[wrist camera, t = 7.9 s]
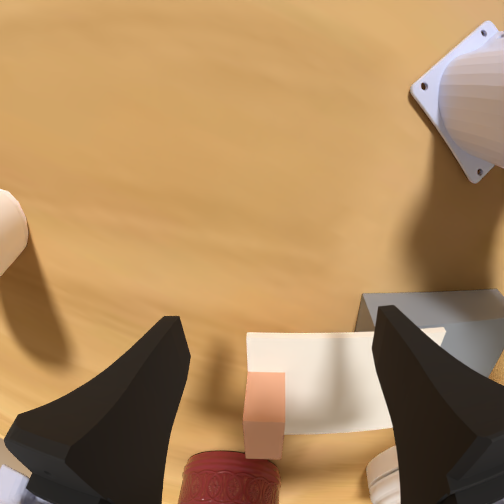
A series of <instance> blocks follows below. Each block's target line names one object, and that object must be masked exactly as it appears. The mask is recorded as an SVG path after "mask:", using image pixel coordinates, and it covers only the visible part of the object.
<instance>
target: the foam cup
mask: <svg viewBox="0 0 504 504" xmlns="http://www.w3.org/2000/svg"><path fill="white" fill-rule="evenodd" d="M28 234H29V232H28V227H27V221H26V216H25V214H24V212H23V210H22V208H21V206H20V204H19V202H18V201H17V200H16V199H15V198H14V197H13V196H12V194H11V193H10V192H8V191H5V190H2V189H0V277H1V276H2V274H3V273H4V272H5V271H6V270H7V269H8V267H9V266H10V265H11V264H12V263H13V262H14V261H15V259H16V258H17V257H18V256H19V254H21V252H22V251H23V250H24V249H25V247H26V246H27V240H28Z"/></svg>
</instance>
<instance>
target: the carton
mask: <svg viewBox="0 0 504 504" xmlns="http://www.w3.org/2000/svg"><path fill="white" fill-rule="evenodd" d="M387 305H395V306H396V307H397V308H398V309H399V310H400V311H401V312H402V313H403V314H405V315H406V316H407V317H408V318H409V319H410V320H411V321H412V322H413V323H414V324H415V325H416V326H417V327H419V328H420V329H425V328H437V327H444V329H445V330H446V333H445V336H444V338H443V341H442V343H441V346H440V347H442V348H443V349H444V350H446V351H447V352H448V353H449V354H451V355H452V356H453V357H455V358H456V359H458V360H459V361H461V362H462V363H464V364H465V365H467V366H468V367H469V368H471V369H473V370H474V371H476V372H478V373H480V374H481V375H483V376H485V377H487V378H488V377H489V375H490V373H491V371H492V370H493V368H494V366H495V364H496V363H497V361H498V359H499V357H500V355H501V353H502V351H503V349H504V297H503V295H502V294H501V293H500V292H499V291H498V290H497V289H484V290H465V291H442V292H413V293H366V294H362V298H361V304H360V309H359V314H358V319H357V324H356V329H355V332H374V331H375V324H376V318H377V311H378V306H387Z"/></svg>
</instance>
